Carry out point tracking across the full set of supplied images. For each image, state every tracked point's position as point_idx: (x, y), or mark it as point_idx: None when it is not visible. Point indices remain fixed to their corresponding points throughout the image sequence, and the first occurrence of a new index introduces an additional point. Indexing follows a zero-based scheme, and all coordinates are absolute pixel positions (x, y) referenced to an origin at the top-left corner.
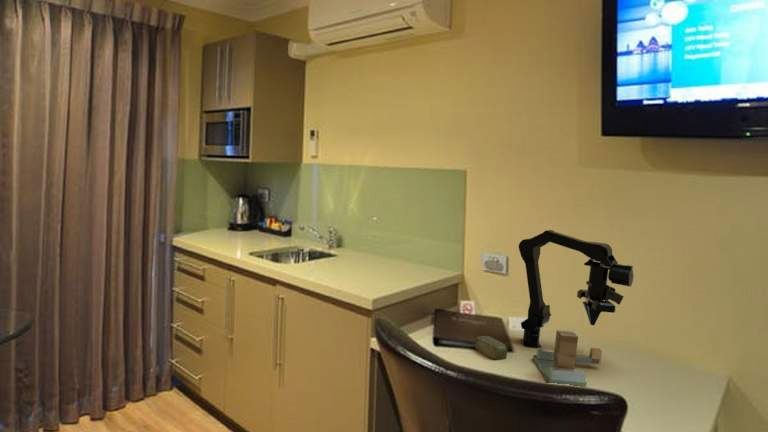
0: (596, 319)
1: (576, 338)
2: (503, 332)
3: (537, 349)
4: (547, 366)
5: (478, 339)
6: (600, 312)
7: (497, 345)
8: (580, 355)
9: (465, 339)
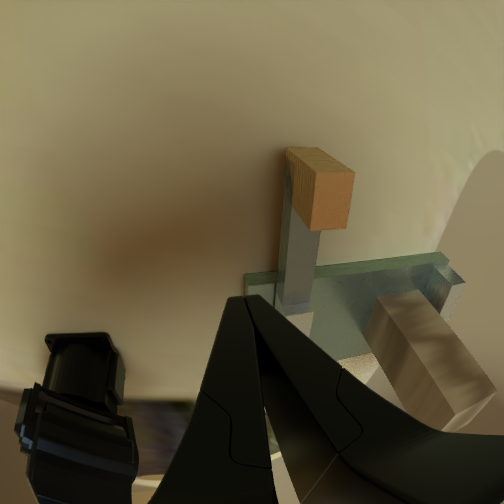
0: (310, 347)
1: (490, 388)
2: None
3: None
4: (342, 346)
5: None
6: (423, 428)
7: (274, 450)
8: (289, 251)
9: (152, 454)
